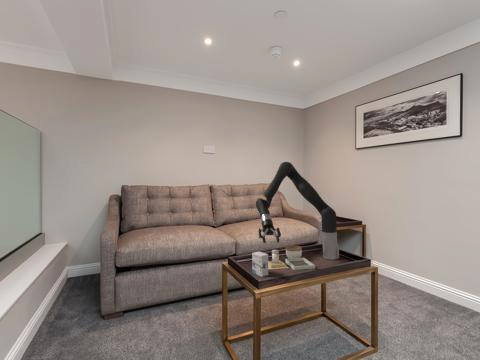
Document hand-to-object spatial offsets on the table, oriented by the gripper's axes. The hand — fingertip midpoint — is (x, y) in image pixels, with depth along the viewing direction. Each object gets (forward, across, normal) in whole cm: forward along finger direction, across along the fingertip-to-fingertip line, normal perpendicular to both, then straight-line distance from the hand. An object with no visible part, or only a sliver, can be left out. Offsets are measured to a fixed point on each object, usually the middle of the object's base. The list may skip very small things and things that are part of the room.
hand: (271, 242), depth 159 cm
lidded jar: (+6, +16, +13) cm, 21 cm away
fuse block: (+15, 0, +3) cm, 15 cm away
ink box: (+24, -12, -5) cm, 27 cm away
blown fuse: (+14, 0, +3) cm, 15 cm away
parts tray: (+16, +14, +2) cm, 22 cm away
